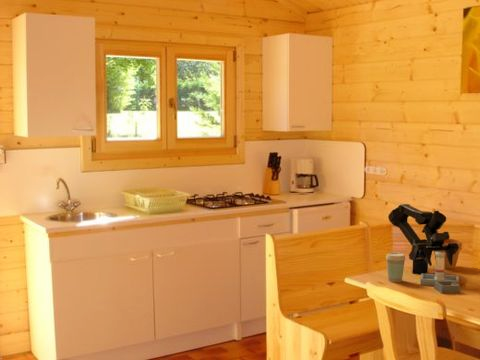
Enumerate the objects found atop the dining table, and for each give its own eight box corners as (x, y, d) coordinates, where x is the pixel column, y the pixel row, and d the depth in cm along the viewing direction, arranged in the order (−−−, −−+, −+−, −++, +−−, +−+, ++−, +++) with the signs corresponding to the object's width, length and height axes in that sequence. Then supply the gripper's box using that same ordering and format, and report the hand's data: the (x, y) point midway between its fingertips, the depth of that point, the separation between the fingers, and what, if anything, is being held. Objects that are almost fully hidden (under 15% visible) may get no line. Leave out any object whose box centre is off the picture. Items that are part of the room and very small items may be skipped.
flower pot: (437, 262, 334) (438, 236, 333) (465, 266, 325) (466, 240, 324) (425, 267, 323) (426, 241, 322) (454, 271, 314) (455, 244, 313)
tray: (420, 284, 291) (420, 279, 291) (421, 278, 301) (421, 273, 301) (459, 287, 286) (459, 281, 286) (458, 281, 297) (458, 275, 296)
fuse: (434, 282, 292) (435, 252, 291) (434, 279, 296) (435, 251, 295) (444, 282, 291) (445, 253, 290) (444, 280, 295) (445, 251, 294)
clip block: (434, 288, 285) (434, 281, 285) (452, 287, 286) (452, 280, 286) (441, 293, 277) (441, 286, 277) (460, 292, 278) (460, 285, 278)
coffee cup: (406, 279, 300) (407, 253, 299) (402, 284, 293) (403, 257, 291) (387, 277, 304) (388, 251, 303) (383, 282, 296) (383, 255, 295)
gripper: (417, 225, 294) (425, 255, 284) (457, 224, 296) (467, 254, 286) (410, 239, 303) (418, 269, 293) (450, 239, 305) (459, 268, 295)
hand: (441, 265), depth 292 cm, fingers open, 9 cm apart
